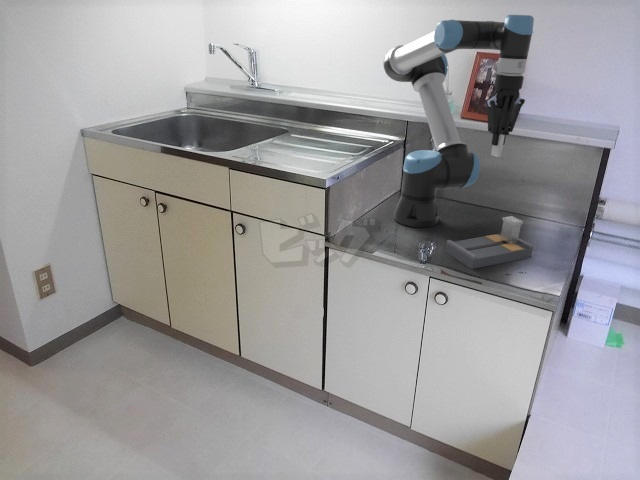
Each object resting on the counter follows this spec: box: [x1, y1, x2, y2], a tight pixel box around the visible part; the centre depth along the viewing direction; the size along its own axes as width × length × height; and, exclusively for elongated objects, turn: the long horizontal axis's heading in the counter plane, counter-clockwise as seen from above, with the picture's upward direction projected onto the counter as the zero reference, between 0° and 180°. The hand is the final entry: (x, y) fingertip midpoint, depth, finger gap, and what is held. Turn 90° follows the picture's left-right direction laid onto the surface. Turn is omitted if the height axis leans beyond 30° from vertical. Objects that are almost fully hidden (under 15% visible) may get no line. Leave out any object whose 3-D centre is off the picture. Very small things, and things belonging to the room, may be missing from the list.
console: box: [445, 233, 534, 270], centre depth 152 cm, size 12×22×4 cm, turn 114°
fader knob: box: [500, 215, 524, 244], centre depth 153 cm, size 5×4×7 cm
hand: (495, 155), depth 155 cm, fingers closed
